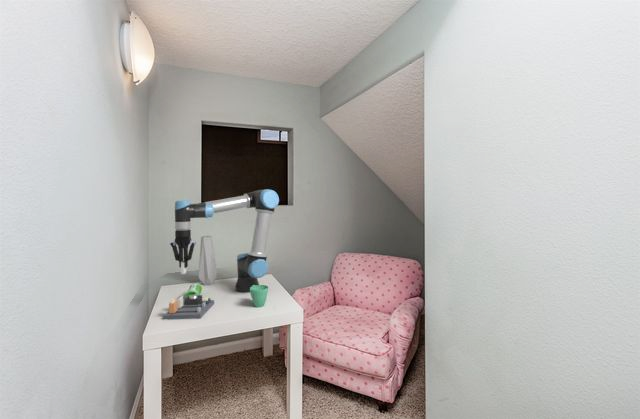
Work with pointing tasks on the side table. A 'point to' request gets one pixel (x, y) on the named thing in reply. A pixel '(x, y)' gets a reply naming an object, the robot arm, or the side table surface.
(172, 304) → the fader
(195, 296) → the button
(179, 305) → the fader
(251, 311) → the side table surface
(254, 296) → the mug
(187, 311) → the panel
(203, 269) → the vase
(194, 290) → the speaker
